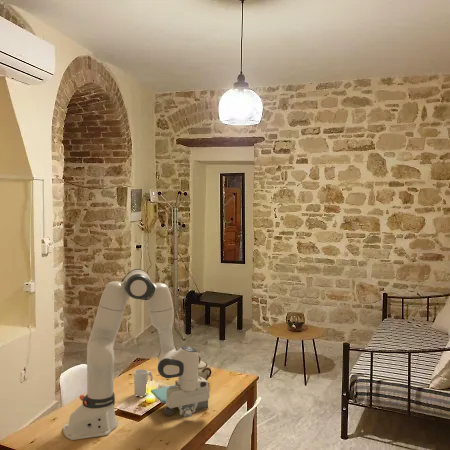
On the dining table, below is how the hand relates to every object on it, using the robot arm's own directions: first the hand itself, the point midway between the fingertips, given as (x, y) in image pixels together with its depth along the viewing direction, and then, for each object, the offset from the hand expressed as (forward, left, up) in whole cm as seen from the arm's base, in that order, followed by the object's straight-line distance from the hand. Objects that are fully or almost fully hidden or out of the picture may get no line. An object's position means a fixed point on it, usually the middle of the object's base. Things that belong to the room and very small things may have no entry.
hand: (187, 413), depth 216 cm
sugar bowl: (+22, +35, -3) cm, 42 cm away
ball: (-6, +8, -3) cm, 10 cm away
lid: (-3, +13, +4) cm, 14 cm away
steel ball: (0, 0, -2) cm, 2 cm away
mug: (-8, +35, -3) cm, 36 cm away
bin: (+7, +13, -3) cm, 15 cm away
